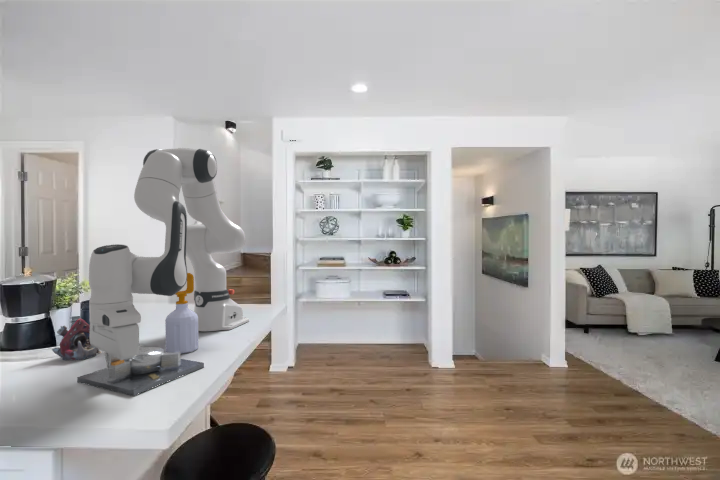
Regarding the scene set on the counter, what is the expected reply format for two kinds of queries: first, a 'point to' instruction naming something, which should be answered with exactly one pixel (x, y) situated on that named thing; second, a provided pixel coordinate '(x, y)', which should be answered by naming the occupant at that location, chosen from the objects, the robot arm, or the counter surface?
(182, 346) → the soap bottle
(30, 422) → the counter surface
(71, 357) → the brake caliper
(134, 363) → the grey disc housing
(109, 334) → the robot arm
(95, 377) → the base plate
